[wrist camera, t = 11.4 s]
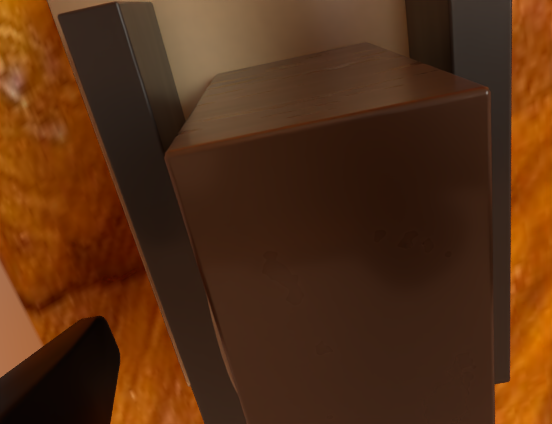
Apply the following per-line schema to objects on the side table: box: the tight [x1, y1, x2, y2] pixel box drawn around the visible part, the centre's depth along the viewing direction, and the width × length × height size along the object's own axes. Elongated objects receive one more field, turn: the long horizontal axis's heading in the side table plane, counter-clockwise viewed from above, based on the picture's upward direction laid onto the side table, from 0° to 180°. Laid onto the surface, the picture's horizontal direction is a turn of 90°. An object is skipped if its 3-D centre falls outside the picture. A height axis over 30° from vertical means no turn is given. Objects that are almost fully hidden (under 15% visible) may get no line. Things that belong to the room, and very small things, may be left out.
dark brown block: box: [164, 42, 495, 424], centre depth 10 cm, size 4×7×7 cm, turn 11°
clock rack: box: [47, 0, 512, 424], centre depth 12 cm, size 11×13×4 cm
